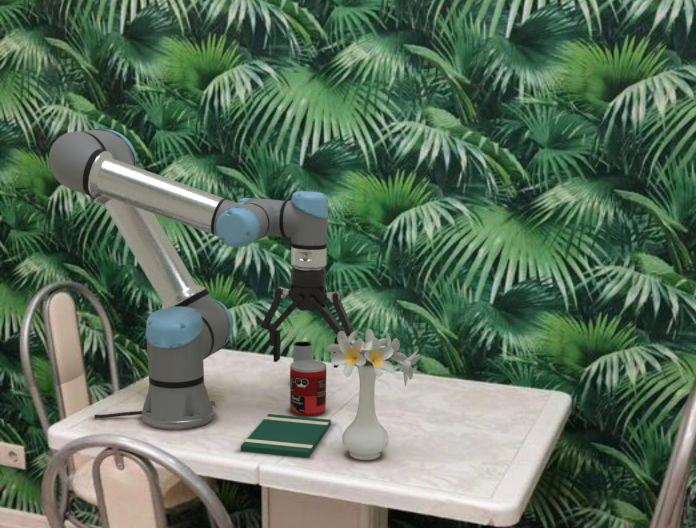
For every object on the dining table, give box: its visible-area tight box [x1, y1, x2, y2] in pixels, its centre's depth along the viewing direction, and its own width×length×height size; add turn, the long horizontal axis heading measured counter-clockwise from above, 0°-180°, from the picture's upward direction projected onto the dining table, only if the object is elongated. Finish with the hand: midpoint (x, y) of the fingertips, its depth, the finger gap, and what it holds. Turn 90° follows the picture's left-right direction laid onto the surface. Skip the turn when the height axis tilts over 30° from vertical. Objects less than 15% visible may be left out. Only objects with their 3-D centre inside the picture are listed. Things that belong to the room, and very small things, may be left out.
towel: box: [240, 413, 332, 459], centre depth 199 cm, size 14×20×1 cm
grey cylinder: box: [292, 341, 313, 363], centre depth 231 cm, size 4×4×10 cm
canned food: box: [289, 359, 327, 418], centre depth 213 cm, size 8×8×11 cm
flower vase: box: [324, 328, 421, 461], centre depth 187 cm, size 13×18×25 cm
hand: (306, 363), depth 211 cm, fingers open, 13 cm apart
